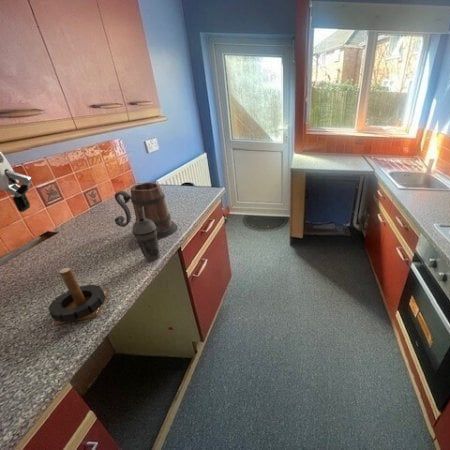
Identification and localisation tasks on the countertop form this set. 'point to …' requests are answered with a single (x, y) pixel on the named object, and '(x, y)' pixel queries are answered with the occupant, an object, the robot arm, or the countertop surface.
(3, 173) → the robot arm
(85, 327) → the countertop surface
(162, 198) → the tankard
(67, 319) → the ring
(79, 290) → the stand
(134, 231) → the beverage cup
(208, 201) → the countertop surface
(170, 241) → the countertop surface
